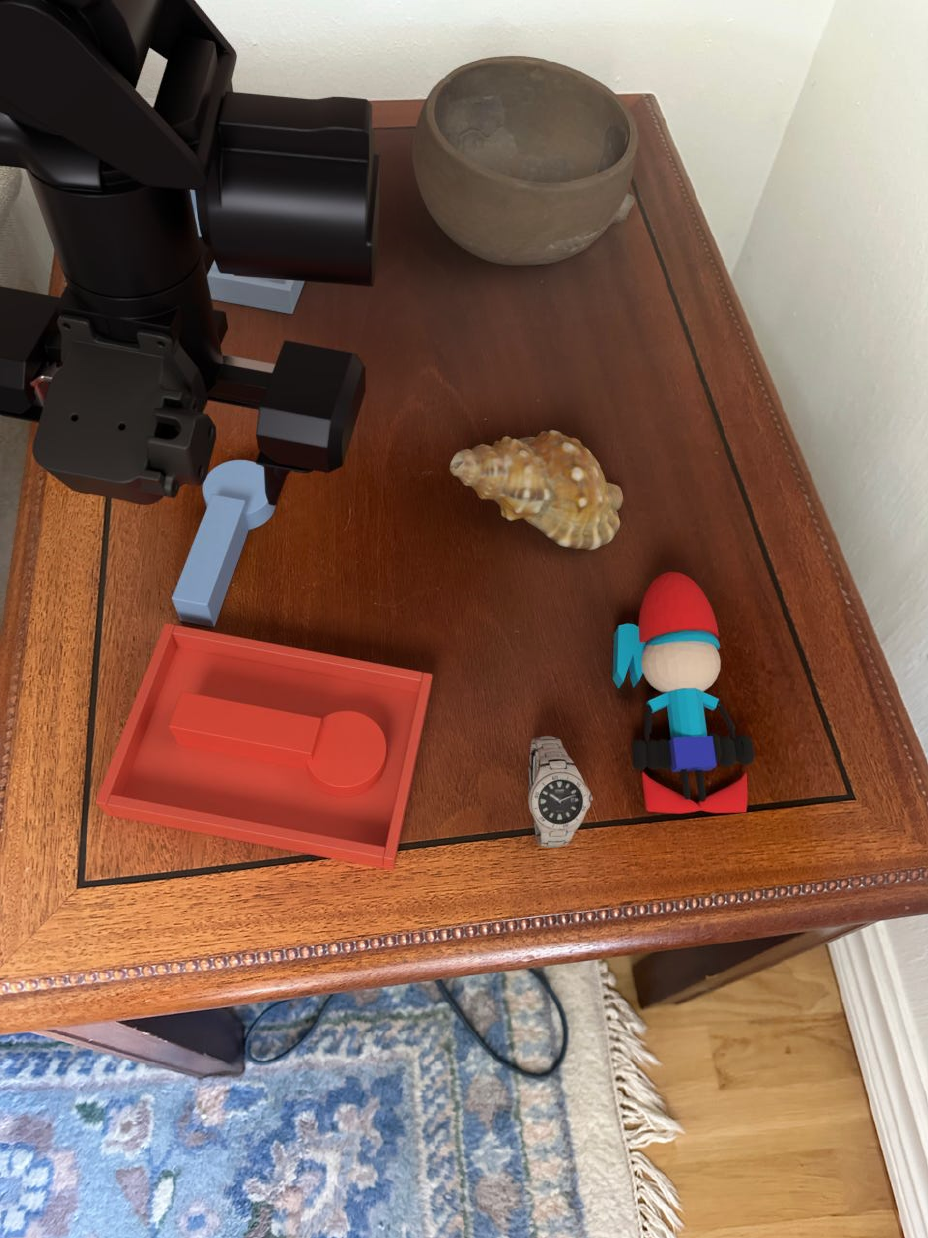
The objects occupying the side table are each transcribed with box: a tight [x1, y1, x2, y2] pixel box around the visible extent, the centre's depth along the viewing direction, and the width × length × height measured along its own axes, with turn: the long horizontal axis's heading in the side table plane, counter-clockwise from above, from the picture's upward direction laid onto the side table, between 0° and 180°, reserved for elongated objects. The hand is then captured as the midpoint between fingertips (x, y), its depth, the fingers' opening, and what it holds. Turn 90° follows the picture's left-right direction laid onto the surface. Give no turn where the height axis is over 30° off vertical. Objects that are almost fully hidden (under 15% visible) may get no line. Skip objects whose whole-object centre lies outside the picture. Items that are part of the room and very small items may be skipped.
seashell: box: [449, 429, 624, 551], centre depth 60 cm, size 9×8×10 cm
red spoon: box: [169, 691, 386, 797], centre depth 51 cm, size 12×5×3 cm, turn 80°
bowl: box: [411, 55, 639, 267], centre depth 73 cm, size 17×18×10 cm
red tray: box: [95, 622, 434, 871], centre depth 52 cm, size 16×11×2 cm
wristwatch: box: [527, 735, 594, 849], centre depth 50 cm, size 4×6×5 cm, turn 4°
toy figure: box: [612, 571, 756, 815], centre depth 55 cm, size 8×5×15 cm
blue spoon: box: [171, 459, 277, 628], centre depth 58 cm, size 12×5×3 cm, turn 170°
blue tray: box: [190, 190, 306, 315], centre depth 73 cm, size 16×11×2 cm
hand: (194, 483), depth 51 cm, fingers open, 9 cm apart
